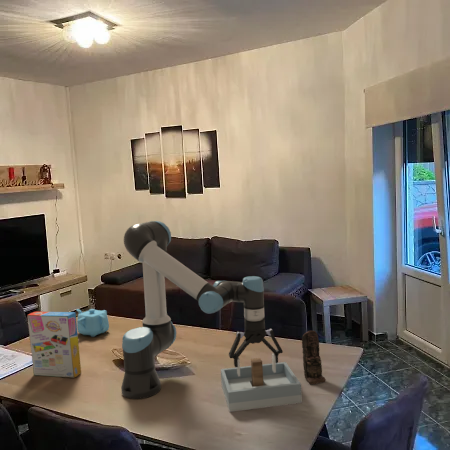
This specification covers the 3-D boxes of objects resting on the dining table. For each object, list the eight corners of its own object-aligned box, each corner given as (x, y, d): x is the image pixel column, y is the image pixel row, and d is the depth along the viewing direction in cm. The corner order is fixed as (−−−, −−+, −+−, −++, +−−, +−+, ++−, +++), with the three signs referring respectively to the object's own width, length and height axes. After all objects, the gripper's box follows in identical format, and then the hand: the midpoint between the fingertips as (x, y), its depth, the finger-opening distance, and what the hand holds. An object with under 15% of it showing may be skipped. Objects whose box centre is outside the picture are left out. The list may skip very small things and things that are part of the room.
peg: (252, 389, 174) (250, 358, 173) (261, 388, 175) (260, 357, 173) (254, 393, 171) (252, 362, 169) (263, 392, 171) (262, 361, 170)
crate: (229, 411, 158) (228, 392, 157) (221, 386, 178) (220, 369, 177) (301, 402, 162) (301, 383, 161) (286, 378, 181) (285, 361, 181)
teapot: (111, 327, 260) (109, 304, 258) (107, 336, 243) (105, 312, 242) (78, 330, 257) (76, 307, 256) (72, 340, 241) (69, 315, 240)
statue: (310, 385, 174) (308, 334, 172) (302, 378, 181) (300, 329, 179) (326, 382, 176) (324, 332, 174) (317, 375, 183) (315, 326, 181)
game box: (81, 373, 198) (76, 312, 195) (74, 378, 193) (68, 315, 190) (41, 370, 204) (35, 310, 201) (32, 375, 198) (26, 314, 196)
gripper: (222, 324, 164) (225, 380, 167) (289, 318, 168) (291, 373, 170) (219, 318, 172) (222, 372, 174) (284, 312, 175) (285, 365, 177)
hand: (256, 373), depth 172 cm, fingers open, 13 cm apart
